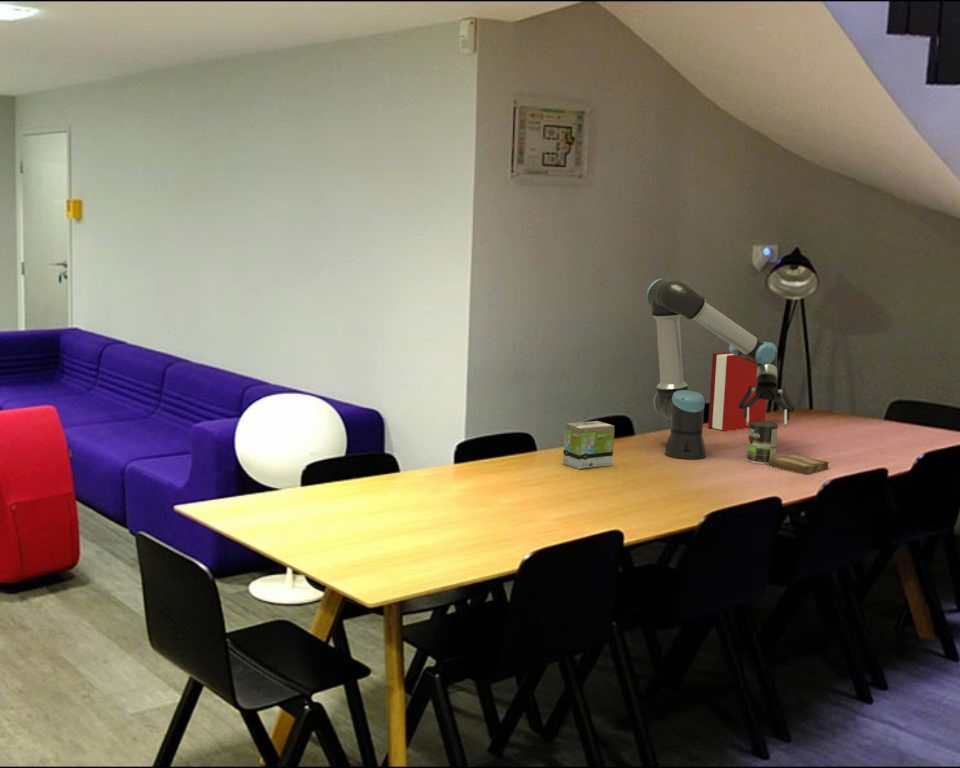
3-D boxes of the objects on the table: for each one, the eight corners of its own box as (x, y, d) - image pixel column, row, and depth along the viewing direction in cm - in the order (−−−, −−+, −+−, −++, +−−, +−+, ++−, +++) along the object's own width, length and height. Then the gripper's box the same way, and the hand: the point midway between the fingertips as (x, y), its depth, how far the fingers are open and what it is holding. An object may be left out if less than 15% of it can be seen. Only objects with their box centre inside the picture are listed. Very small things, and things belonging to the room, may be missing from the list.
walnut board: (805, 474, 377) (806, 467, 377) (768, 466, 388) (768, 459, 388) (827, 468, 388) (828, 461, 387) (790, 461, 398) (791, 453, 398)
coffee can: (757, 465, 390) (760, 426, 388) (740, 458, 400) (743, 421, 397) (781, 463, 394) (784, 425, 392) (764, 457, 403) (767, 420, 401)
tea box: (579, 470, 374) (581, 428, 372) (562, 464, 383) (563, 423, 380) (613, 465, 383) (615, 424, 380) (595, 459, 391) (597, 419, 389)
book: (722, 431, 450) (727, 355, 445) (707, 428, 456) (712, 353, 451) (766, 426, 465) (772, 352, 460) (752, 422, 472) (757, 350, 467)
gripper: (799, 386, 414) (800, 432, 402) (732, 382, 419) (731, 428, 407) (801, 374, 408) (802, 421, 396) (734, 370, 413) (732, 417, 401)
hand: (766, 424), depth 401 cm, fingers open, 13 cm apart
